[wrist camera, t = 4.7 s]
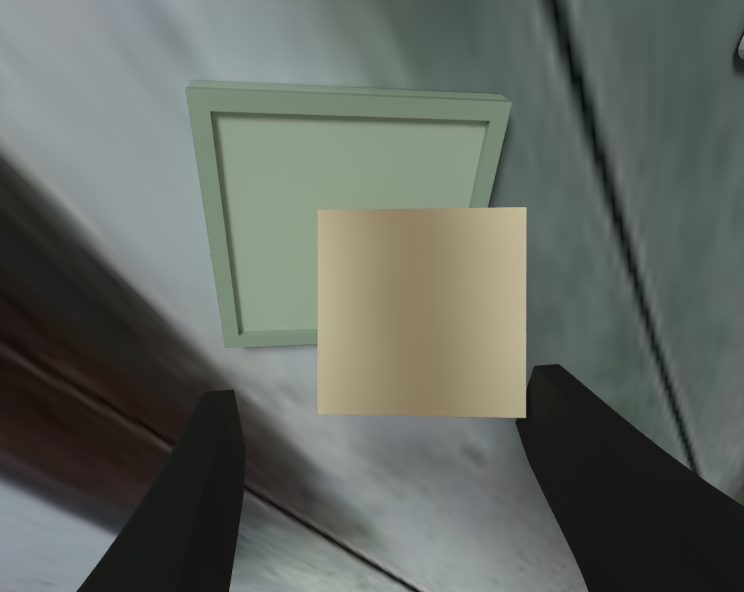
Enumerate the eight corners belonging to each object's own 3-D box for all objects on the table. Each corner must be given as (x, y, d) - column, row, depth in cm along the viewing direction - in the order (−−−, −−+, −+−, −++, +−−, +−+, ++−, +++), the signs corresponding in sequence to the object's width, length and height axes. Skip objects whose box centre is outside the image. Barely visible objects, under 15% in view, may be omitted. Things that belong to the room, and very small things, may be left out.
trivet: (499, 93, 16) (512, 102, 15) (450, 322, 22) (457, 338, 21) (191, 80, 14) (185, 89, 13) (228, 330, 20) (224, 347, 19)
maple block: (483, 238, 17) (526, 207, 11) (482, 374, 17) (525, 418, 11) (347, 238, 17) (317, 209, 11) (347, 373, 17) (317, 414, 11)
